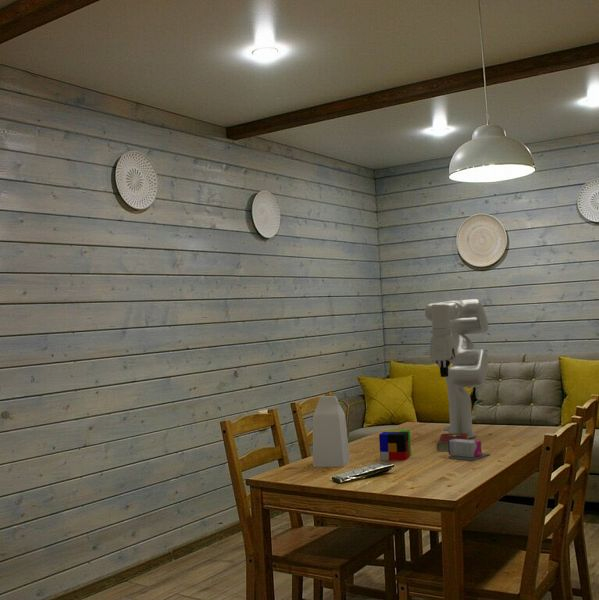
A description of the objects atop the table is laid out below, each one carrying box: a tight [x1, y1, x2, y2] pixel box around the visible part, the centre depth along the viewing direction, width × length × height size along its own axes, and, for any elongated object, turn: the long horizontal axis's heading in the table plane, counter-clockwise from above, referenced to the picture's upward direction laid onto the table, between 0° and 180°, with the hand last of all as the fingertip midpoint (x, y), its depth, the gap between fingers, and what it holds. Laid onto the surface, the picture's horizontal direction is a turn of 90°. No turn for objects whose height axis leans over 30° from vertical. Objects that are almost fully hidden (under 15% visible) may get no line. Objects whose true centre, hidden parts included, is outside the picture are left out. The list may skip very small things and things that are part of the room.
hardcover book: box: [436, 433, 470, 452], centre depth 309 cm, size 12×21×4 cm, turn 165°
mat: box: [448, 452, 491, 462], centre depth 284 cm, size 10×13×1 cm
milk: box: [312, 395, 351, 468], centre depth 287 cm, size 12×12×26 cm
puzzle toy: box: [378, 429, 412, 461], centre depth 291 cm, size 10×10×10 cm
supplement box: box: [448, 438, 483, 458], centre depth 285 cm, size 6×6×12 cm
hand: (444, 376), depth 308 cm, fingers closed
